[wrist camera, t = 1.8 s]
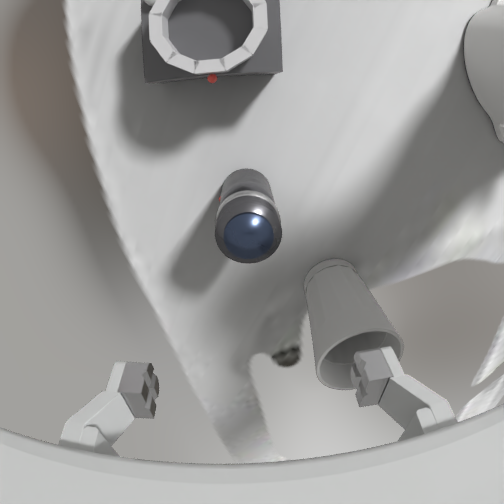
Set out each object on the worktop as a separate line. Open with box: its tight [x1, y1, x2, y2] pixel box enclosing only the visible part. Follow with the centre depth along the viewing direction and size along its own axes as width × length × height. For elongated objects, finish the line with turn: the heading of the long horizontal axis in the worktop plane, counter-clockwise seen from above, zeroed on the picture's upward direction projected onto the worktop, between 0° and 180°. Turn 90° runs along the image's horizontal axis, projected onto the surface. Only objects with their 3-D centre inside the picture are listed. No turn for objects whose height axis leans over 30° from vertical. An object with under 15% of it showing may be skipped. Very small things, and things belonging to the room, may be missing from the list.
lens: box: [215, 169, 282, 263], centre depth 26 cm, size 5×5×9 cm
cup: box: [304, 259, 404, 390], centre depth 30 cm, size 8×8×12 cm
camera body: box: [141, 0, 283, 83], centre depth 20 cm, size 10×9×7 cm
